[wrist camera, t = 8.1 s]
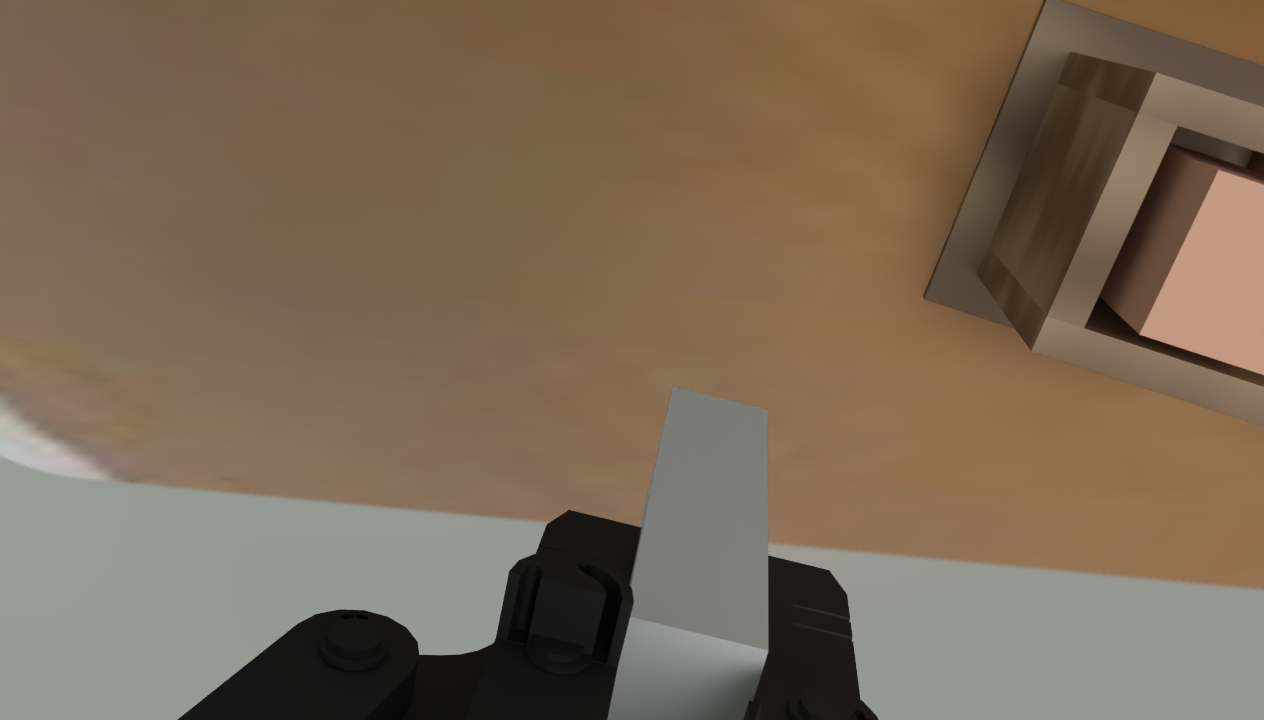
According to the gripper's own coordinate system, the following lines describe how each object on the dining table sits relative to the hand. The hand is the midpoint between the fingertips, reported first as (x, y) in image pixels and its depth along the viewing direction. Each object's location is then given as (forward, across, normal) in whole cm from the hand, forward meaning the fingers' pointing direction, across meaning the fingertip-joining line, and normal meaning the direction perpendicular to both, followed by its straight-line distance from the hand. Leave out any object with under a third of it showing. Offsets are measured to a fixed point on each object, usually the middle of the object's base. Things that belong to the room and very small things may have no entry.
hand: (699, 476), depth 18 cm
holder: (+29, +15, +2) cm, 33 cm away
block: (+29, +15, +2) cm, 32 cm away
